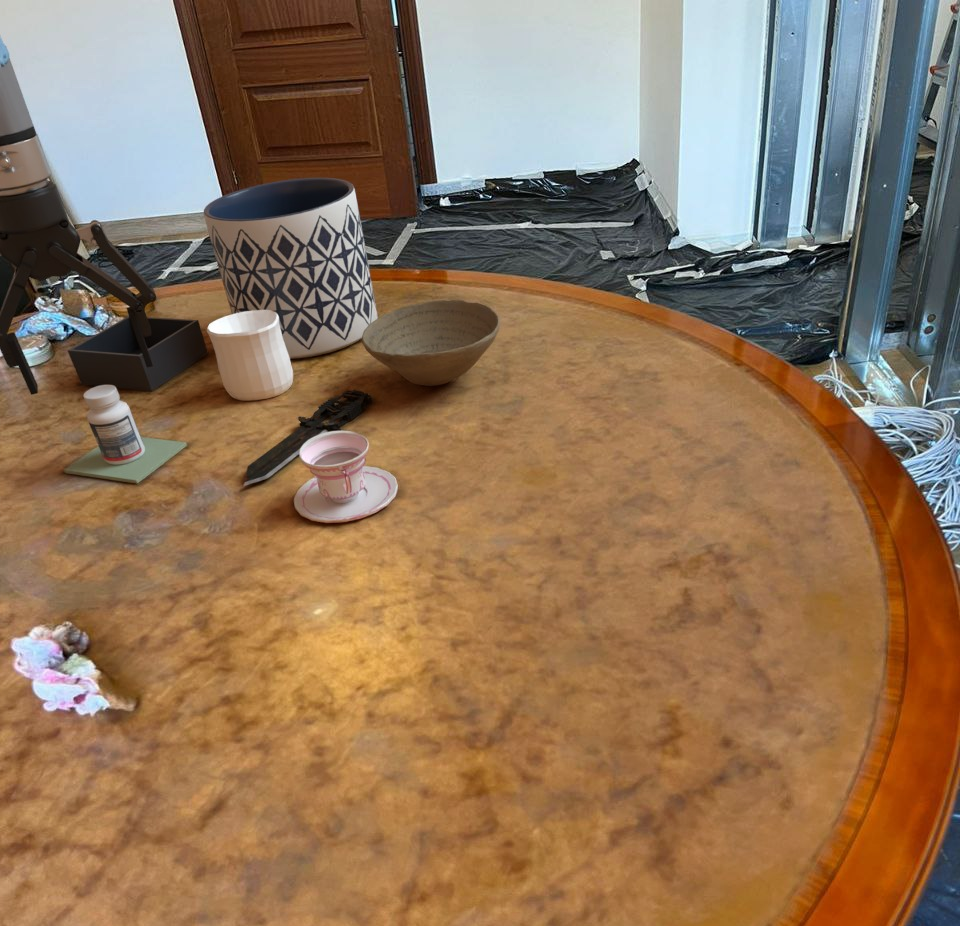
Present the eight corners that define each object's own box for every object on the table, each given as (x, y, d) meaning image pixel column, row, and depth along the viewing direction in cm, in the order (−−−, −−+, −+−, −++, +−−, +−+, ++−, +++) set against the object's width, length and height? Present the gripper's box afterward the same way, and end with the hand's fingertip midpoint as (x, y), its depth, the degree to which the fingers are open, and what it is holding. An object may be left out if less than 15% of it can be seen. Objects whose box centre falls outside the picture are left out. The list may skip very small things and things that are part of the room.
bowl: (408, 423, 114) (398, 364, 109) (351, 379, 127) (339, 324, 122) (529, 381, 120) (524, 323, 115) (462, 343, 133) (456, 289, 128)
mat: (65, 473, 113) (63, 469, 113) (117, 436, 120) (115, 433, 120) (137, 483, 109) (136, 480, 109) (187, 445, 116) (186, 442, 115)
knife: (254, 493, 104) (251, 483, 103) (216, 482, 107) (212, 472, 106) (383, 403, 119) (382, 393, 119) (347, 395, 123) (345, 386, 122)
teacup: (284, 487, 104) (271, 440, 100) (381, 460, 107) (371, 413, 103) (308, 536, 95) (294, 486, 91) (412, 505, 98) (403, 455, 94)
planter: (371, 354, 133) (344, 209, 120) (226, 368, 135) (184, 227, 122) (385, 302, 150) (362, 171, 137) (256, 315, 152) (222, 187, 139)
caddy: (81, 384, 136) (67, 350, 133) (140, 348, 146) (128, 315, 142) (152, 391, 131) (139, 356, 128) (208, 353, 141) (198, 319, 137)
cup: (306, 387, 126) (289, 319, 120) (240, 410, 123) (220, 341, 116) (281, 368, 133) (264, 303, 126) (218, 389, 129) (197, 322, 123)
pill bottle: (110, 448, 116) (84, 384, 111) (149, 443, 116) (125, 379, 110) (100, 468, 112) (72, 403, 106) (140, 463, 112) (115, 397, 106)
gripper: (-114, 217, 88) (-17, 413, 102) (139, 171, 94) (198, 362, 108) (-106, 201, 94) (-15, 389, 107) (133, 158, 99) (190, 342, 113)
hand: (92, 376), depth 108 cm, fingers open, 13 cm apart
